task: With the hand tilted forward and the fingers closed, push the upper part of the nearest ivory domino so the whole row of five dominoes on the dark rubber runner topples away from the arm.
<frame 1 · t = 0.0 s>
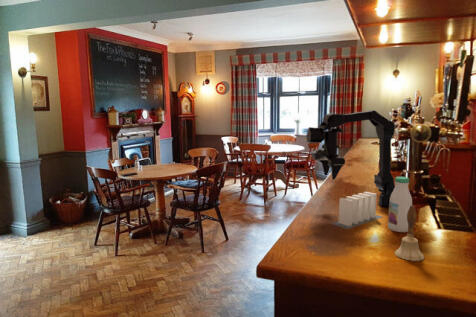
hand: (329, 177, 157), 15 cm above the bar counter, tool pointing down, fingers open, 9 cm apart
domino 4: (351, 222, 140), resting on runner mat
domino 1: (368, 216, 147), resting on runner mat
domino 3: (357, 220, 142), resting on runner mat
runner mat: (357, 221, 142), on the bar counter
domino 5: (345, 224, 137), resting on runner mat
hand bell: (409, 256, 110), on the bar counter
domino 2: (363, 218, 145), resting on runner mat
milk bottle: (398, 230, 132), on the bar counter
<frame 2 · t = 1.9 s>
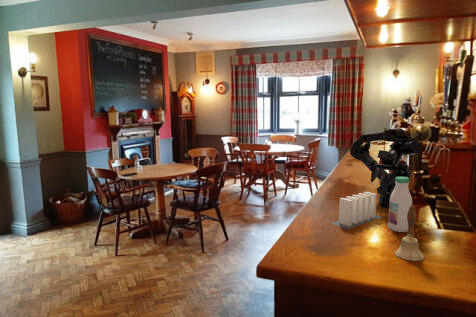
hand: (379, 183, 149), 14 cm above the bar counter, tool tilted 45°, fingers open, 7 cm apart
nothing on the bar counter moved.
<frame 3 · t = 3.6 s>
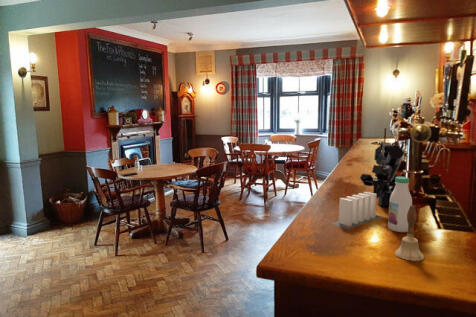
hand: (373, 198, 147), 8 cm above the bar counter, tool tilted 45°, fingers closed
nothing on the bar counter moved.
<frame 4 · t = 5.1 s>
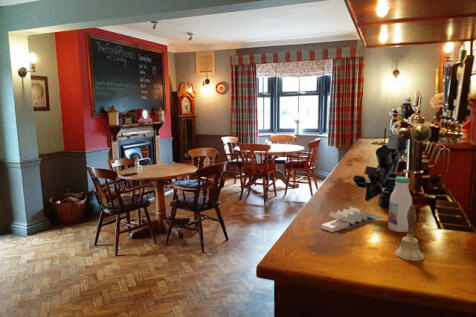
hand: (366, 200, 145), 8 cm above the bar counter, tool tilted 45°, fingers closed
domino 4: (349, 220, 139), point 1 cm above the bar counter, tilted 66°, touching domino 3, domino 5
domino 1: (367, 215, 146), point 1 cm above the bar counter, tilted 67°, touching domino 2, runner mat
domino 3: (355, 219, 141), point 1 cm above the bar counter, tilted 66°, touching domino 2, domino 4, runner mat
domino 5: (343, 222, 137), point 1 cm above the bar counter, tilted 90°, touching domino 4, runner mat
domino 2: (361, 216, 144), point 1 cm above the bar counter, tilted 67°, touching domino 1, domino 3, runner mat
everything else where it was.
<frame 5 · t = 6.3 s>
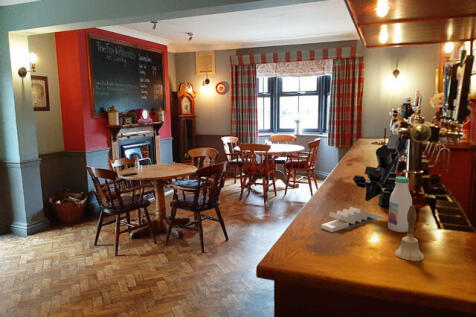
hand: (366, 200, 145), 8 cm above the bar counter, tool tilted 45°, fingers closed
nothing on the bar counter moved.
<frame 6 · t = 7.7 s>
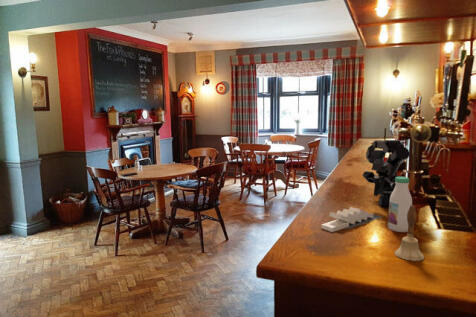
hand: (374, 195, 150), 8 cm above the bar counter, tool tilted 40°, fingers closed
nothing on the bar counter moved.
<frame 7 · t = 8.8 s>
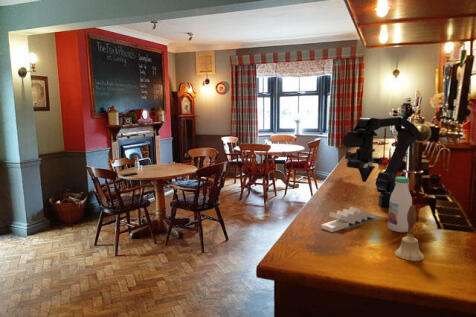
hand: (364, 181, 155), 13 cm above the bar counter, tool pointing down, fingers closed
nothing on the bar counter moved.
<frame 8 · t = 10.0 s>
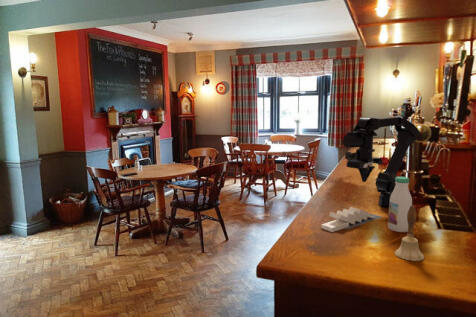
hand: (364, 181, 155), 13 cm above the bar counter, tool pointing down, fingers closed
nothing on the bar counter moved.
at the end: domino 5 tilted 90°; domino 1 tilted 67°; milk bottle moved 0.2 cm from its start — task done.
